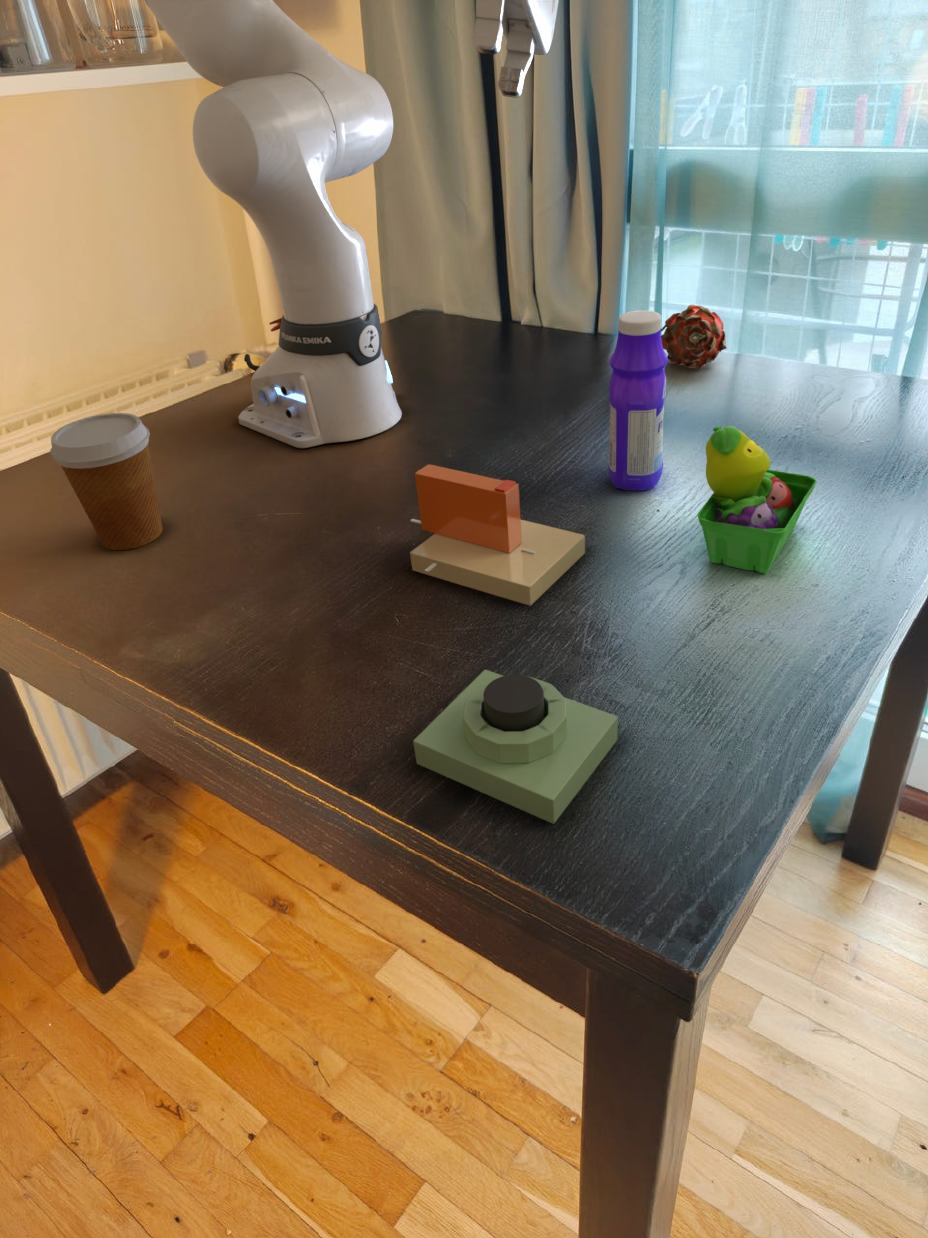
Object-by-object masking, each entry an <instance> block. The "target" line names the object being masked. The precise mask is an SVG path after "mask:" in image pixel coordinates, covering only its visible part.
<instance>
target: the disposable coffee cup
mask: <svg viewBox="0 0 928 1238" xmlns="http://www.w3.org/2000/svg"><path fill="white" fill-rule="evenodd" d="M150 435H151V434H150V429H149V428H148V427H147V426H145V425H144V423H143V422H142V420H141V419H140V417H139V416H137V415H136V414H132V413H129V412H111V413H110V412H109V413H102V414H96V415H95V414H94V415H91V416H88V417H84V418H81V419H78V420H75V421H72V422H69V423H67V424H65V425H64V426H62V427H60V428H58V429H57V430H56V431H54V433H53V434H52V435H51V436H50V443H51V448H50V449H49V453H50V457H51V458H52V459H54V460H55V461H56V463H57V464H58V465H59V466H60V467H61V469H62V471H63V473H64V474H65V476H66V478H67V481H68V482H69V484H70V486H71V487H72V489H73V491H74V493H75V495H76V497H77V499H78V500H79V502H80V504H81V507H82V508H83V510H84V512H85V514H86V516H87V517H88V519H89V521H90V523H91V525H92V527H93V529H94V531H95V532H96V534H97V536H98V538H99V540H100V542H101V545H102V546H103V547H104V548H106V549H108V550H114V551H125V550H131V549H136V548H140V547H142V546H144V545H147V544H149V543H151V542H153V541H155V540H156V539H157V538H159V536H160V535H161V534H162V532H163V525H162V519H161V513H160V508H159V507H160V505H159V501H158V495H157V489H156V484H155V478H154V472H153V467H152V461H151V454H150V448H149V442H150V439H149V438H150Z"/></svg>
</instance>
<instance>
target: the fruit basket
mask: <svg viewBox="0 0 928 1238" xmlns="http://www.w3.org/2000/svg"><path fill="white" fill-rule="evenodd" d="M712 431H713V433H712V434H711V435H710V437H709V439H708V440H707V442H706V444H705V454H706V465H705V477H706V482H707V484H708V487H709V488H710V489H711V491H712V492H713V493H712V494H711V496H710V497H709V498H708V500H707V501H706V502H705V503H704V505H702V507H701V509H700V510H699V511H698V513H697V518H698V522H699V525H700V526H701V528H702V531H703V532H702V533H703V537H704V542H705V545H706V549H707V555H708V558H709V562H710V563H712V564H722V565H724V566H727V567H731V568H736V569H740V570H746V571H755V572H757V573H760V574H767V573H768V572H769V571H770V569H771V567H772V566H773V563H774V561H775V560H776V559H777V557H778V556H779V554H780V553H781V550H782V548H783V547H784V546H785V545H786V543H787V541H788V539H789V536H790V535H792V533H793V531H794V529H795V528H796V525H797V522H798V520H799V519H800V516H801V514H802V511H803V509H804V507H805V505H806V503H807V500H808V499H809V498H810V496H811V494H812V492H813V491H814V489H815V487H816V484H817V482H818V480H817V479H816V478H815V477H813V476H811V475H807V474H799V473H793V472H789V471H788V472H786V471H781V470H775V469H770V468H771V460H770V457H769V455H768V454H767V452H766V451H765V450H764V449H763V447H761V446H759V444H758V443H756V442H755V441H754V440H753V439H751V438H749V437H748V436H747V435H746V434H745V433H744V432H743V431H741V430H739V429H738V428H737V427H735V426H733V425H726V426H723V427H722V426H721V425H717V426H715V427H714V428H712Z"/></svg>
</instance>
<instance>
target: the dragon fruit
mask: <svg viewBox="0 0 928 1238" xmlns="http://www.w3.org/2000/svg"><path fill="white" fill-rule="evenodd" d="M663 331H664V332H663ZM661 332H663V334H661V341H662V347H663V350H664V351H666V354H667V355H666V356H667V358H668V362H670V363H671V364H673V365H674V366H679V365H683V366H684V367H685V368H689V369H693V370H695V369H696V370H699V369H702V368H703V367H704V366H705V365H708V364H711V363H712V362H714V361H715V360H716V359H717V357H718V356H719V353H720V352H722V351H723V350H726V349H727V338H726V337H727V336H726V332H725V330H724V321H723V320H722V318H721V317H720V315H718V313H717V312H715V311H711V310H710V309H709V308H707V307H704V306H703V305H696V304H689V305H688V306H687V308H686V309H685V310H683V311H681V312H676V313H672V314H671V315H670V316H669V317H668V318H667V319H666V320H665V321H664V325H663V326H661Z"/></svg>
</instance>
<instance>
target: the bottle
mask: <svg viewBox="0 0 928 1238" xmlns="http://www.w3.org/2000/svg"><path fill="white" fill-rule="evenodd" d="M617 322H618V323H617V324H618V327H617V338H616V340H617V341H616V344H615V348H614V351H613V353H612V355H611V357H610V358H609V365H610V367H611V370H612V373H611V377H610V381H609V382H610V384H609V393H608V395H609V397H608V399H609V448H608V449H609V451H608V475H609V480H610V481H611V484H612V485H613V486H614V487H615V488H617V489H619V490H624V491H647V490H651V489H653V488H654V487H655V486H657V485H658V483H659V482H660V480H661V477H662V473H663V469H664V460H663V446H664V445H663V442H664V416H665V399H666V396H667V377H666V373H665V368H666V366H667V365H668V362H669V360H668V358H667V356H668V355H667V353H666V351H665V349H663V347H662V341H661V335H662V331H661V329H662V315H661V314H660V313H659V312H657V311H653V310H645V309H641V310H639V309H638V310H631V311H627V312H623V313H621V314H620V315H619V316H618V320H617Z"/></svg>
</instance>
